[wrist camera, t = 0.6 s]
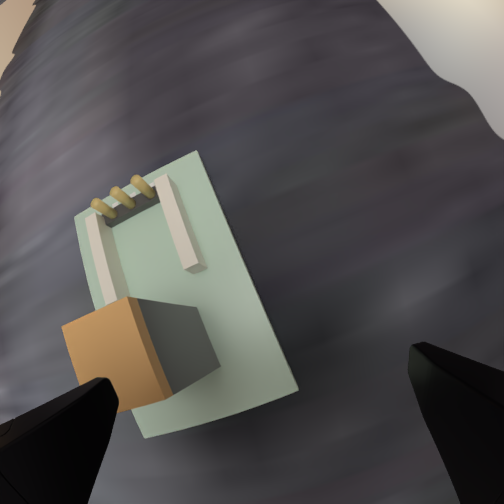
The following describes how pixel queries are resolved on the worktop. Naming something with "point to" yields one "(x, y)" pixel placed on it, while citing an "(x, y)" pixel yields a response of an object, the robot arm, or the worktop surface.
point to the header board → (185, 288)
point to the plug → (141, 349)
